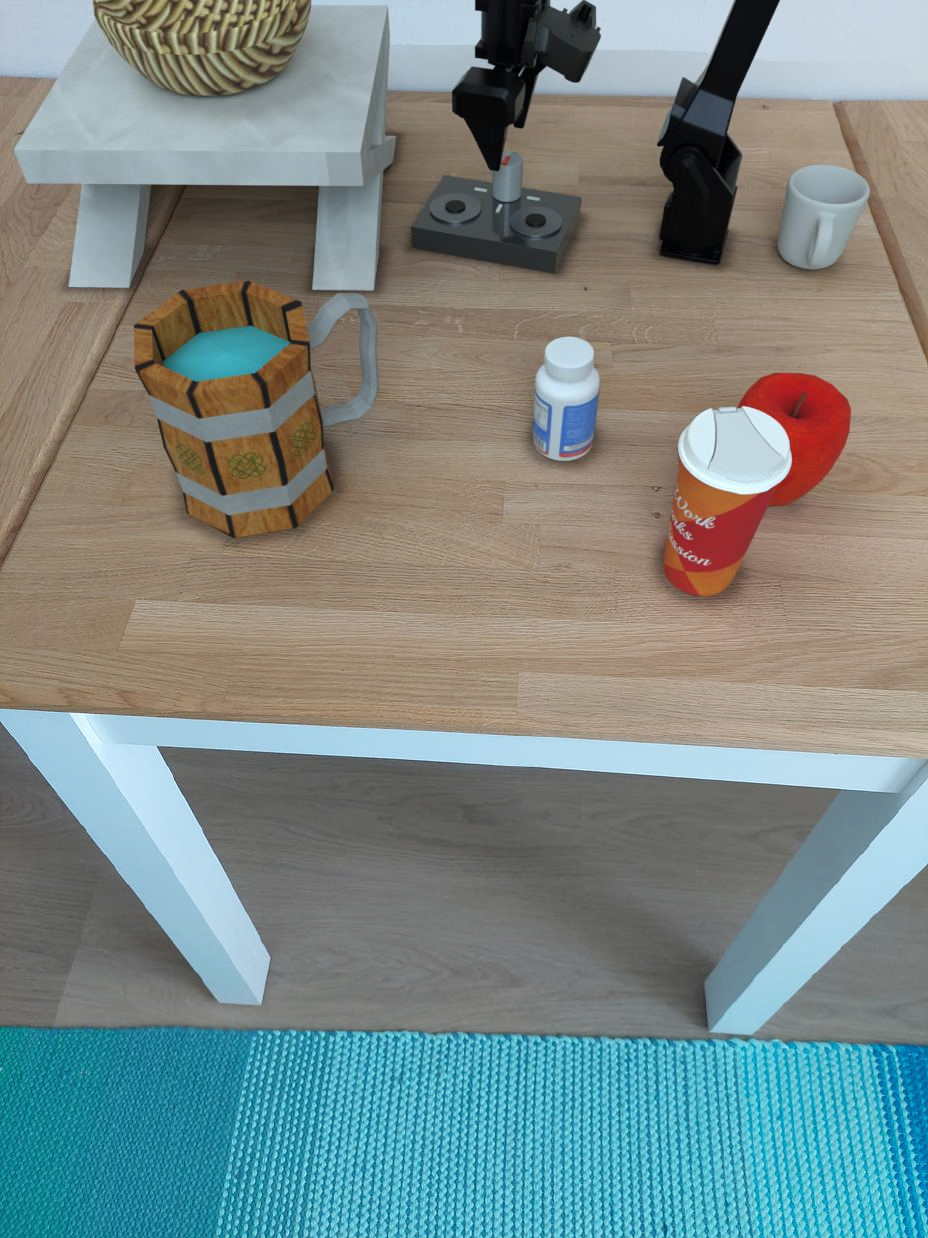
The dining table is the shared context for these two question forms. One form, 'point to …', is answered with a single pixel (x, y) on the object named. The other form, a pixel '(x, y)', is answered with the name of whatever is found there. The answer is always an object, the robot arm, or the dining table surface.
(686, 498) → the paper cup
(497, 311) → the dining table surface
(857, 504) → the dining table surface
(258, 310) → the mug
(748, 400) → the apple
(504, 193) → the hob knob
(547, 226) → the burners
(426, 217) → the hob
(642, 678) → the dining table surface
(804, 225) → the cup
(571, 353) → the pill bottle
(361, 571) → the dining table surface
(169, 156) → the grey stone stand
